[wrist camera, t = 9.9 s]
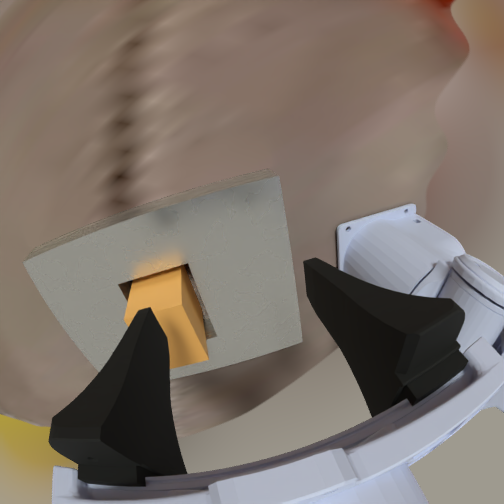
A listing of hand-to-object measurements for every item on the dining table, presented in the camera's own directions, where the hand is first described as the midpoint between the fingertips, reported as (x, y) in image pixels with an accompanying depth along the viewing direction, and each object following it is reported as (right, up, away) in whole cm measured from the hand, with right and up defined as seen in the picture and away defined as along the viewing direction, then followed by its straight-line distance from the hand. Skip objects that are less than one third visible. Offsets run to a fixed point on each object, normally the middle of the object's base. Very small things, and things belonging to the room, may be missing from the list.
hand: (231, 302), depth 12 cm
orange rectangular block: (-6, -1, +10) cm, 12 cm away
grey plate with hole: (-6, -1, +10) cm, 12 cm away
